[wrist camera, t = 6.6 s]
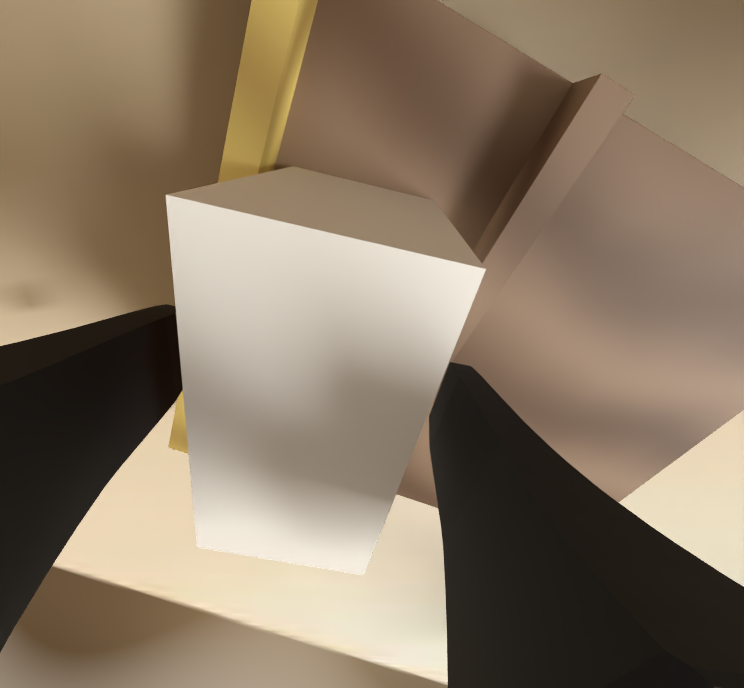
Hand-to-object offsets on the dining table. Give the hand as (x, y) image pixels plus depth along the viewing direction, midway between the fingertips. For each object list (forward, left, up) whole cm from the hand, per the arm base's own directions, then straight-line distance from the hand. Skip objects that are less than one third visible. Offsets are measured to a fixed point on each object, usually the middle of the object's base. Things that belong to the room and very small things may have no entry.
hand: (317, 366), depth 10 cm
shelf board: (0, +6, -6) cm, 9 cm away
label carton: (0, 0, -4) cm, 4 cm away
